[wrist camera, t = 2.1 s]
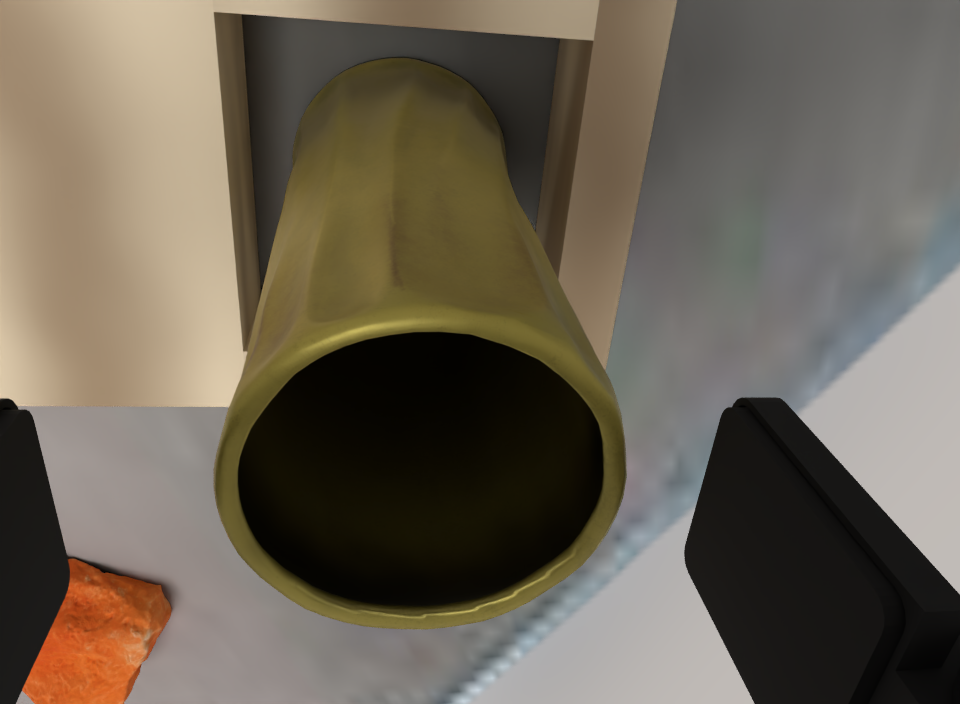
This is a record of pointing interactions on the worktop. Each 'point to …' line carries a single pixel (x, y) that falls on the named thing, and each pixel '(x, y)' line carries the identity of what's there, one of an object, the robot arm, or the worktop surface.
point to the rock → (97, 639)
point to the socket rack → (248, 180)
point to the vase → (414, 374)
